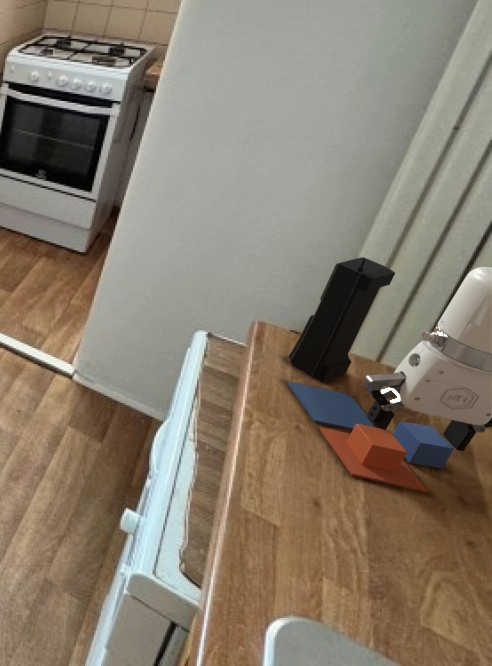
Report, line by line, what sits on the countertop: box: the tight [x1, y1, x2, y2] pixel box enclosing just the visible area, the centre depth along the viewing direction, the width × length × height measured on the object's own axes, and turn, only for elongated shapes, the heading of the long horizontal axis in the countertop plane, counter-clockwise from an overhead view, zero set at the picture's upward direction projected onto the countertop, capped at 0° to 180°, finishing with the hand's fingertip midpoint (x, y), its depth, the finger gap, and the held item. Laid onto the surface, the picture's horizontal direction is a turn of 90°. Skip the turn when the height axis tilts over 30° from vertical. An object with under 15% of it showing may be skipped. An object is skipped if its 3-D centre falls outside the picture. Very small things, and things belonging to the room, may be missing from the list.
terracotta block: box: [346, 424, 407, 472], centre depth 92 cm, size 4×4×4 cm
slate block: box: [392, 421, 455, 469], centre depth 93 cm, size 4×4×4 cm
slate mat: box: [287, 381, 374, 431], centre depth 103 cm, size 9×9×1 cm
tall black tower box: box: [288, 256, 396, 382], centre depth 107 cm, size 8×6×25 cm
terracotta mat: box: [319, 427, 429, 494], centre depth 93 cm, size 9×9×1 cm
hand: (412, 433), depth 93 cm, fingers open, 9 cm apart
